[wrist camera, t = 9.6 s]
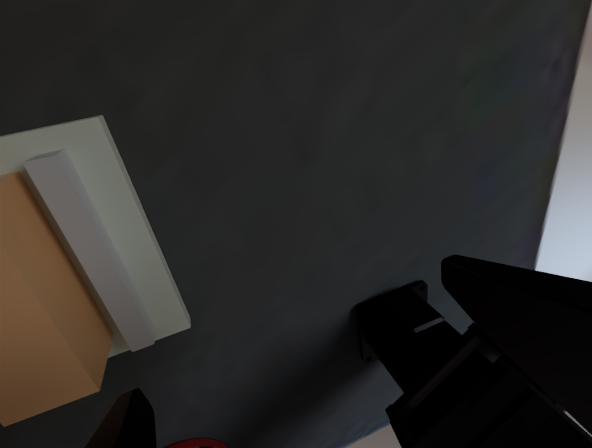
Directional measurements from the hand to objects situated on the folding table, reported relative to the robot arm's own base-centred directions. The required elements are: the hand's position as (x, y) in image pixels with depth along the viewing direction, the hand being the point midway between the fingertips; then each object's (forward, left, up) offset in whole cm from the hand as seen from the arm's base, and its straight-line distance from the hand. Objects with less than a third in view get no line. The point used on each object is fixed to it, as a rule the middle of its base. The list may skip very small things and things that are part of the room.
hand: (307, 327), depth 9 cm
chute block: (-1, +11, -11) cm, 15 cm away
